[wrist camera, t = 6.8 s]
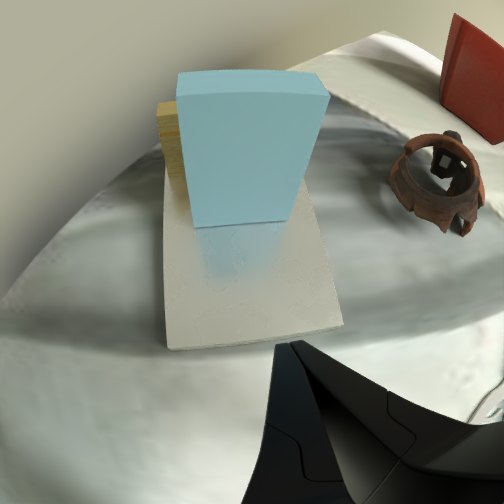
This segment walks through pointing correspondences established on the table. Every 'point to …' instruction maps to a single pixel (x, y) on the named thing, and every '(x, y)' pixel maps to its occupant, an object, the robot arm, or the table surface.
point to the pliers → (488, 406)
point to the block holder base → (239, 268)
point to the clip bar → (247, 141)
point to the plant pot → (474, 79)
